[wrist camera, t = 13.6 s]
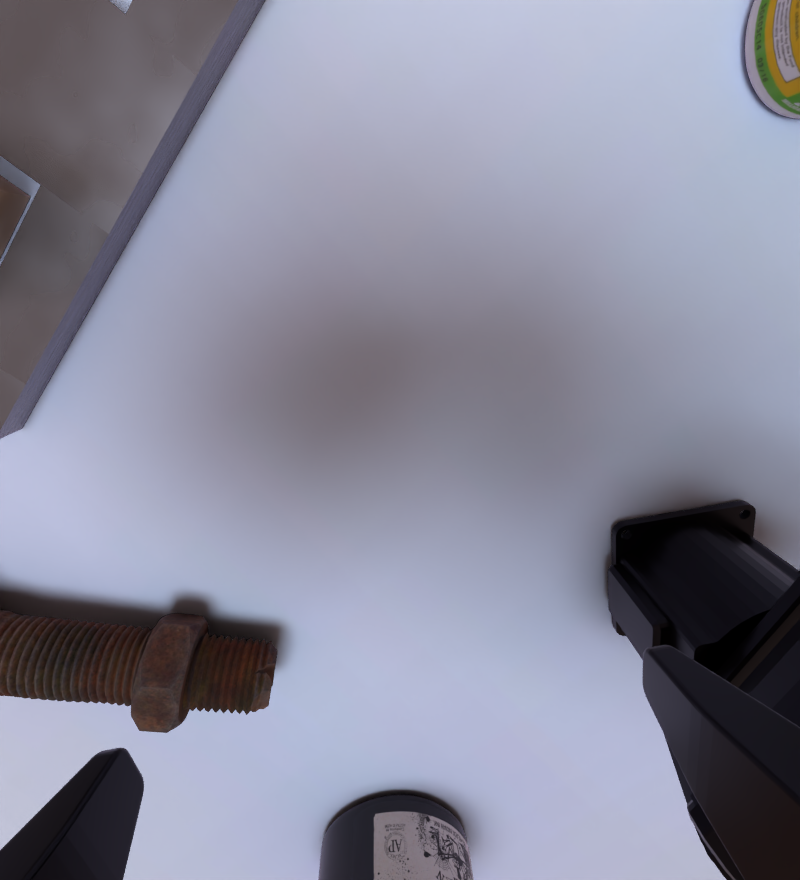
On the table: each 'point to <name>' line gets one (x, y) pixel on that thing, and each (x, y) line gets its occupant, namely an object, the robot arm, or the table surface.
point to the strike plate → (91, 152)
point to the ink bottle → (396, 842)
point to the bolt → (135, 666)
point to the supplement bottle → (775, 54)
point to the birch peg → (10, 210)
